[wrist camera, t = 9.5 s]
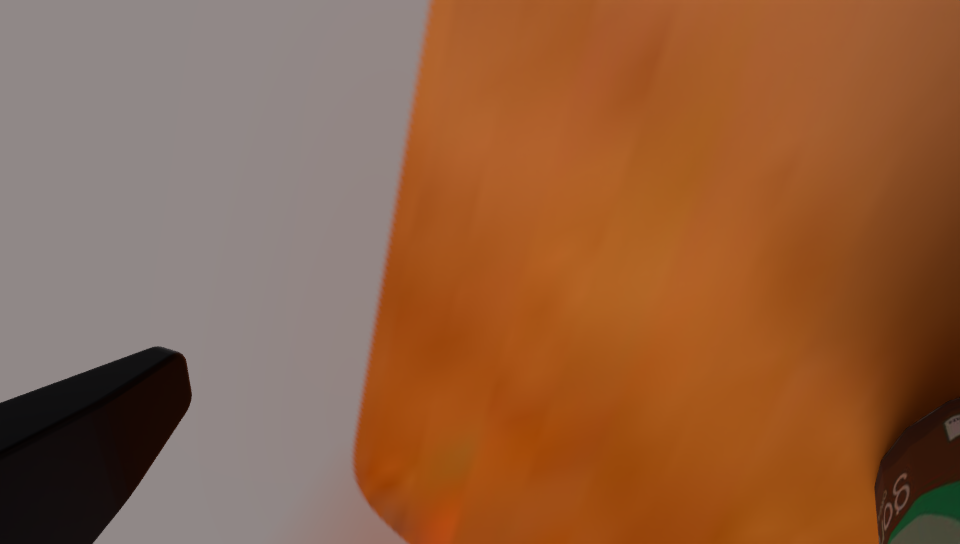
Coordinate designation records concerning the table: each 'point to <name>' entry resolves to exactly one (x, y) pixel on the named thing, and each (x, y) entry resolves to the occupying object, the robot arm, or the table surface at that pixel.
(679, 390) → the table surface
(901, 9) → the table surface
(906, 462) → the food container
